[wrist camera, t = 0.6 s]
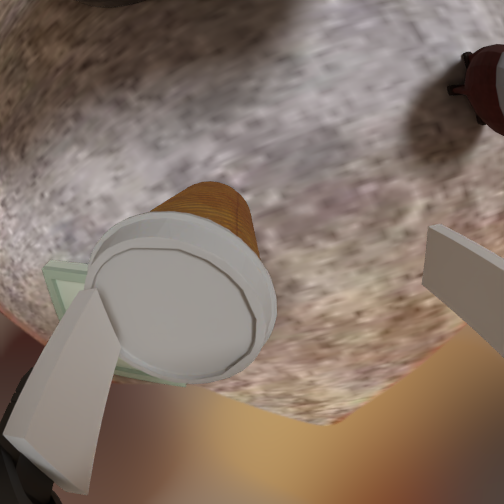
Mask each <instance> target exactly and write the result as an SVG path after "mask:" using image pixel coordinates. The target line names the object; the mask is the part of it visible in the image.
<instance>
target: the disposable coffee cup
mask: <svg viewBox="0 0 504 504" xmlns="http://www.w3.org/2000/svg"><path fill="white" fill-rule="evenodd" d="M93 288H97V290H98V293H99V296H100V298H101V301H102V303H103V306H104V308H105V311H106V313H107V315H108V318H109V320H110V323H111V325H112V327H113V329H114V332H115V334H116V336H117V338H118V341H119V343H120V345H121V350H120V353H119V357H120V358H121V359H123V360H124V361H125V362H127V363H128V364H129V365H131V366H133V367H135V368H137V369H139V370H141V371H143V372H145V373H147V374H149V375H151V376H153V377H157V378H160V379H164V380H168V381H171V382H176V383H187V384H203V383H211V382H214V381H218V380H222V379H226V378H229V377H232V376H234V375H235V374H237V373H239V372H241V371H243V370H244V369H245V368H246V367H247V366H249V365H250V364H251V363H252V362H253V361H254V360H255V358H256V357H257V355H258V354H259V352H260V350H261V348H262V346H263V345H264V344H265V343H266V341H267V340H268V338H269V337H270V335H271V332H272V330H273V328H274V324H275V320H276V316H277V302H276V294H275V290H274V287H273V283H272V280H271V278H270V275H269V272H268V271H267V269H266V268H265V266H264V265H263V263H262V262H261V261H260V256H259V251H258V247H257V242H256V238H255V232H254V228H253V223H252V218H251V213H250V210H249V207H248V205H247V203H246V201H245V200H244V198H243V197H242V196H241V195H240V194H239V193H238V192H237V191H235V190H234V189H233V188H231V187H229V186H228V185H225V184H222V183H219V182H211V181H210V182H201V183H197V184H194V185H192V186H190V187H188V188H187V189H185V190H183V191H182V192H180V193H178V194H177V195H175V196H174V197H172V198H170V199H168V200H167V201H165V202H164V203H162V204H161V205H159V206H157V207H156V208H154V209H153V210H151V211H150V212H147V213H143V214H140V215H136V216H132V217H129V218H127V219H125V220H123V221H121V222H120V223H118V224H116V225H115V226H113V227H112V228H111V229H109V230H108V231H107V232H106V233H105V234H104V235H103V236H102V237H101V239H100V240H99V241H98V242H97V244H96V246H95V248H94V250H93V251H92V253H91V256H90V260H89V263H88V270H87V276H86V280H85V285H84V290H87V289H93Z"/></svg>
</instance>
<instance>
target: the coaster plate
mask: <svg viewBox="0 0 504 504" xmlns="http://www.w3.org/2000/svg"><path fill="white" fill-rule="evenodd" d="M87 270H88V264H83V263H74V262H65V261H56V260H50V261H49V262H48V263H47V264H46V265H45V266H44V267H43V268H42V272H43V275H44V278H45V281H46V284H47V288H48V291H49V294H50V297H51V299H52V302H53V305H54V308H55V311H56V313H57V316H58V319H59V321H61V319H62V317H63V316H64V314H65V312H66V311H67V309H68V308H69V306H70V305H71V303H72V301H73V300H74V298H75V297H76V295H77V294H78V292H79V291H81V290H84V285H85V280H86V276H87ZM114 375H119V376H123V377H128V378H133V379H138V380H144V381H149V382H155V383H161V384H167V385H174V386H181V387H186V385H187V383H176V382H171V381H168V380H164V379H160V378H157V377H153V376H151V375H149V374H147V373H145V372H143V371H141V370H139V369H137V368H135V367H133V366H131V365H129V364H128V363H127V362H125V361H124V360H123V359H121V358H120V357H119V356H118V360H117V363H116V367H115V370H114Z"/></svg>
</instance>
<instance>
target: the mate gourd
mask: <svg viewBox="0 0 504 504" xmlns="http://www.w3.org/2000/svg"><path fill="white" fill-rule="evenodd" d="M463 56H464V61H465V64H466V68H467V71H466V76H465V84H461V85H451V86H447V90H448V94H449V95H467V98H468V100H469V101H470V103H471V105H472V107H473V109H474V110H475V112H476V116H477V121H478V123H479V124H481V125H486V124H487V125H488V126H489V127H490V128H491V129H493V130H494V131H495V132H497V133H499V134H501V135H503V136H504V45H502V44H495V45H491V46H486V47H483V48H481V49H479V50H477V51H476V52H475V53H473V54H472V53H471V52H466V53H463Z"/></svg>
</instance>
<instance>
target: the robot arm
mask: <svg viewBox="0 0 504 504" xmlns="http://www.w3.org/2000/svg"><path fill="white" fill-rule="evenodd" d="M76 1H78V2H81V3H83V4H86V5H90V6H95V7H118V6H125V5H130V4H134V3H138V2H141V1H144V0H76ZM422 285H423V286H424V287H426V288H427V289H428V290H429V291H430V292H432V293H433V294H434V295H435V296H436V297H437V298H439V299H440V300H441V301H442V302H443V303H445V304H446V305H447V306H448V307H449V308H450V309H451V310H453V311H454V312H455V313H456V314H457V315H458V316H459V317H461V318H462V319H463V320H464V321H465V322H466V323H467V324H468V325H469V326H471V327H472V328H473V329H474V330H475V331H476V332H477V333H478V334H479V335H480V336H481V337H483V338H484V339H485V340H486V341H487V342H488V343H489V344H490V345H491V346H492V347H493V348H494V349H495V350H496V351H497V352H498V353H499V354H500V355H501V356H502V357H503V358H504V259H503V258H502V257H500V256H498V255H497V254H495V253H493V252H491V251H490V250H488V249H486V248H484V247H483V246H481V245H479V244H477V243H476V242H474V241H472V240H470V239H468V238H466V237H465V236H463V235H461V234H459V233H457V232H455V231H453V230H451V229H449V228H448V227H446V226H444V225H442V224H437V225H432V226H428V232H427V244H426V254H425V263H424V271H423V278H422ZM120 350H121V345H120V343H119V341H118V338H117V336H116V334H115V332H114V329H113V327H112V325H111V323H110V320H109V318H108V315H107V313H106V311H105V308H104V306H103V303H102V301H101V298H100V296H99V293H98V290H97V288H93V289H87V290H81V291H79V292H78V294H77V295H76V297H75V298H74V300H73V301H72V303H71V305H70V306H69V308H68V309H67V311H66V312H65V314H64V316H63V317H62V319H61V321H60V322H59V324H58V326H57V327H56V329H55V331H54V332H53V334H52V336H51V337H50V339H49V341H48V343H47V344H46V346H45V348H44V350H43V352H42V353H41V355H40V357H39V359H38V361H37V363H36V364H35V366H34V368H31V369H30V370H29V371H28V372H27V373H26V374H25V375H24V376H23V378H22V379H21V381H20V383H19V385H18V387H17V388H16V393H14V394H13V397H12V399H11V403H9V405H8V407H7V409H6V411H5V413H4V416H3V418H2V420H1V422H0V504H62V503H61V501H60V499H59V497H58V496H57V494H56V493H55V492H54V491H53V490H52V486H53V483H56V484H57V485H58V486H59V487H61V488H62V489H63V490H65V491H66V492H72V493H78V494H84V495H88V490H89V483H90V477H91V472H92V466H93V461H94V455H95V450H96V445H97V440H98V436H99V431H100V426H101V422H102V418H103V413H104V409H105V405H106V401H107V397H108V393H109V389H110V385H111V381H112V378H113V374H114V370H115V367H116V363H117V360H118V356H119V353H120Z"/></svg>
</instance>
